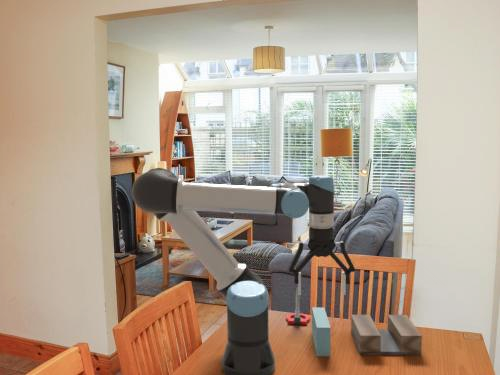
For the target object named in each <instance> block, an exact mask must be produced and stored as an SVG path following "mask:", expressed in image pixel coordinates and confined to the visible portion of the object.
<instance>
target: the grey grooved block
mask: <svg viewBox="0 0 500 375" xmlns="http://www.w3.org/2000/svg"><path fill="white" fill-rule="evenodd" d="M350 333H351V336H352V338H353V340H354V343H355V346H356V349H357V350H358V352H359V355H360V356H363V355H364V356H367V355H368V356H369V355H371V356H422V343H423V342H422V340H423V336H422V334H421V332H420V331H419V330H418V328H417V327H416V325H414V323H413V322H412V321H411V319H410V317H409V316H408V315H407V314H388V315H387V328H386V329H383V328H382V329H381V328H380V329H379V328H377V326H376V324H375V322H374V320H373V318H372V317H371V315H370V314H351V315H350Z"/></svg>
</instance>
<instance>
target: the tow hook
mask: <svg viewBox="0 0 500 375" xmlns="http://www.w3.org/2000/svg"><path fill="white" fill-rule="evenodd" d="M295 292H296V293H295V310H294V312H293V313H290V314H287V315H286V317H285V320H286V321H287V325H294V326H295V325H297V326H308V322H310V320H311V317H310V316H309V315H308V314H306V313H301V310H300V295H298V287H296V291H295ZM306 315H307V316H306ZM301 318H303V319H301Z"/></svg>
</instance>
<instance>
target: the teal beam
mask: <svg viewBox="0 0 500 375" xmlns="http://www.w3.org/2000/svg"><path fill="white" fill-rule="evenodd" d="M311 335H312V341H313V345H314V350H315V354H316V357H331V326H330V321H329V318H328V315H327V312H326V309H325V307H319V306H317V307H315V306H314V307H313V306H312V307H311Z"/></svg>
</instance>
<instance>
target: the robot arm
mask: <svg viewBox="0 0 500 375" xmlns="http://www.w3.org/2000/svg"><path fill="white" fill-rule="evenodd" d="M334 184H335V182H334V178H333V176H331V175H325V174H323V175H321V174H319V175H311V176H309V178H308V181H307V182H292V183H291V182H290V183H289V182H287V183H286V182H285V183H283V182H279V183H271V184H270V185H269V186H257V185H240V184H238V185H235V184H221V183H219V184H218V183H205V182H202V183H201V182H185V181H184V180H183V179H182V178H180V177H179V178H178V176H177V175H176V174H175V173H174V172H173V171H172V170H170V169H167V168H163V167H155V168H151V169H149V170H148V171H147V172H144V173H142V174H140V175H139V176H138V177H137V178H136V179H135V180H134V181H133V185H132V188H131V196H132V199H133V202H134V204H135V206H137V207H138V208H139V209H140V210H141V211H143V212H146V213H149V214H153V215H154V216H155V217H156V219H158V221H159V222H167V223H168V225H169V226H170V227H171V229H173V231H174V232H175V233H176V234H177V235H178V237H179V238H180V239H181V240H182V242H183V243H184V244H185V245H186V246H187V247H188V249H189V250H190V251H191V252H192V253H193V254H194V256H195V257H196V259H197V260H199V261H200V263H201V264H202V265H203V266H204V267H205V269H206V270H207V271H208V273H209V274H210V275H211V276H212V277H213V278H214V280H215V281H216V290H217V291H218V292H219V293H220V295H221V296H222V297H223V299H225V303H226V322H227V323H226V325H227V326H226V327H227V328H226V329H227V332H226V333H227V343H226V344H225V349H224V352H223V355H222V357H221V370H222V373H223V374H225V375H271V374H272V373H274V371H275V370H276V369H275V368H276V358H275V355H274V353H273V350H272V345H271V343H270V340H269V339H270V338H269V336H270V334H269V330H270V329H269V304H270V303H269V302H270V297H269V292H268V288H267V287H266V286H265V284H264V281H263V280H262V278H261V277H260V275H258V274H257V273H255V272H253V271H252V270H251V269H250V268H249V266H248V265H247V264H246V263H245V262H244V263H241V262H238V261H237V259H236V258H235V257H234V256H233V254H232V253H231V252H230V251H229V250H228V249H227V247H226V246H225V245H224V244H223V242H222V241H221V240H220V239H219V238H218V236H217V235H216V234H215V233H214V232H213V230H212V229H211V228H210V226H208V225H207V223H206V222H205V221H204V219H203V218H202V217H201V216H200V214H198V212H197V211H199V212H216V213H217V212H220V213H221V212H222V213H238V214H239V213H241V214H258V215H259V214H260V215H276V216H286V217H288V218H291V219H299V218H301V217H303V216H305V215H306V213H308V225H309V228H308V241H307V242H304V241H302V240H300V241H299V242H298V248H297V250H296V251H295V253H294V256H293V257H292V260H291V262H290V264H289V266H288V273H293V274H294V275H293V276H294V277H293V279H294V283H295V285H297V288H298V295H299V296H301V295H302V273H301V271H302V270H303V269H304V268H305V266H306V265H307V264H308V263H309V262H310V260H312V259H313V258H314V257H317V258H320V257H321V258H322V257H324V258H327V257H329V256H330V257H331V258H332V260H334V261H335V263H336V264H337V265H338V267H340V269H341V270H342V272H341V293H342V296H346V295H347V294H346V293H347V292H346V291H347V290H346V289H347V288H346V285H347V284H349V283H350V273H355V272H356V268H355V266H354V264H353V262H352V259H351V258H350V256H349V255H348V252H347V250H346V245H345V242H344V241H343V240H339V241H336V242H335V227H333V226H334V225H335V185H334ZM306 247H308V249H309V251H308V252H307V254H306V255H305V257H304V258H302V259H301V261H300V262H299V264H298V265H297V263H298V261H299V260H300V257H301V255H302V253H303V251H304V250H305V249H306ZM336 247H337V249H338V250H340V251H341V253H342V256H343V257H344V259H345V261H346V263H347V264H348V266H349V267H347V266H346V265H345V264H344V263H343V261H342V260H341V259H340V258H339V257H338V255H337V254H335V252H334V250H335V248H336ZM296 265H297V266H296Z"/></svg>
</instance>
